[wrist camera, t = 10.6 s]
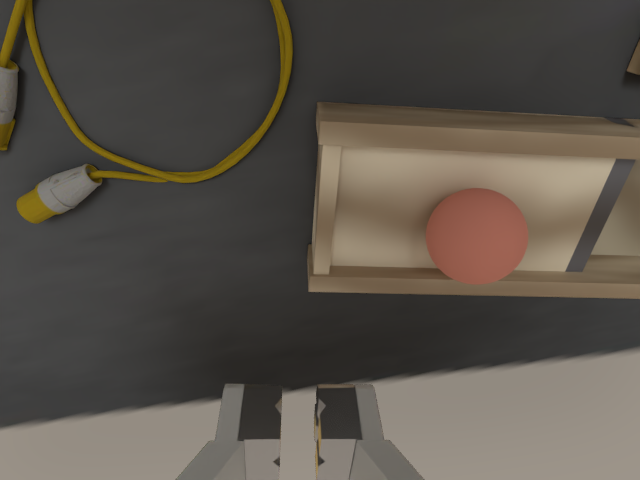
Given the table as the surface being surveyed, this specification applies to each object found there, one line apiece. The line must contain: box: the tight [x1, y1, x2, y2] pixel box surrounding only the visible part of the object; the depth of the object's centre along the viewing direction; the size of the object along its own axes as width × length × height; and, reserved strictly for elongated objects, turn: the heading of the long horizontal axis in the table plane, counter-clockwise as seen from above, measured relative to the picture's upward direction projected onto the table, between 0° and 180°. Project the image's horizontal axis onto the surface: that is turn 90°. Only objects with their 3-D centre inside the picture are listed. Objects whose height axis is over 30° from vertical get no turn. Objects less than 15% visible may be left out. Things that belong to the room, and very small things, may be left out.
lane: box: [307, 102, 640, 299], centre depth 21 cm, size 9×24×6 cm, turn 86°
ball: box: [426, 188, 528, 285], centre depth 20 cm, size 4×4×4 cm
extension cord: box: [0, 0, 293, 223], centre depth 19 cm, size 12×16×2 cm
